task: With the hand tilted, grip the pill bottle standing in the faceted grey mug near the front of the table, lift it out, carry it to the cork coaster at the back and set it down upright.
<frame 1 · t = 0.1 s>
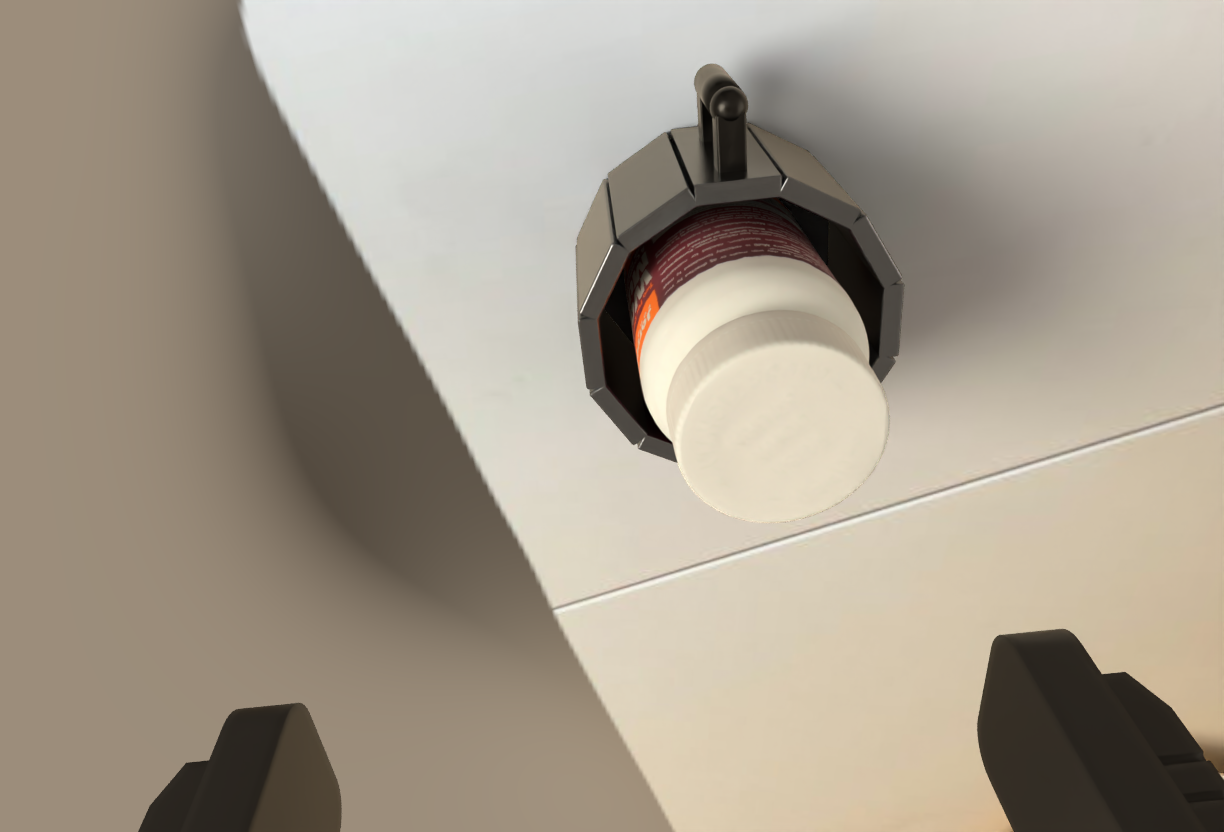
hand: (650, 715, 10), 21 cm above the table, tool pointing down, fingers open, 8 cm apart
pill bottle: (711, 258, 30), resting in faceted grey mug
faceted grey mug: (711, 261, 30), on the table
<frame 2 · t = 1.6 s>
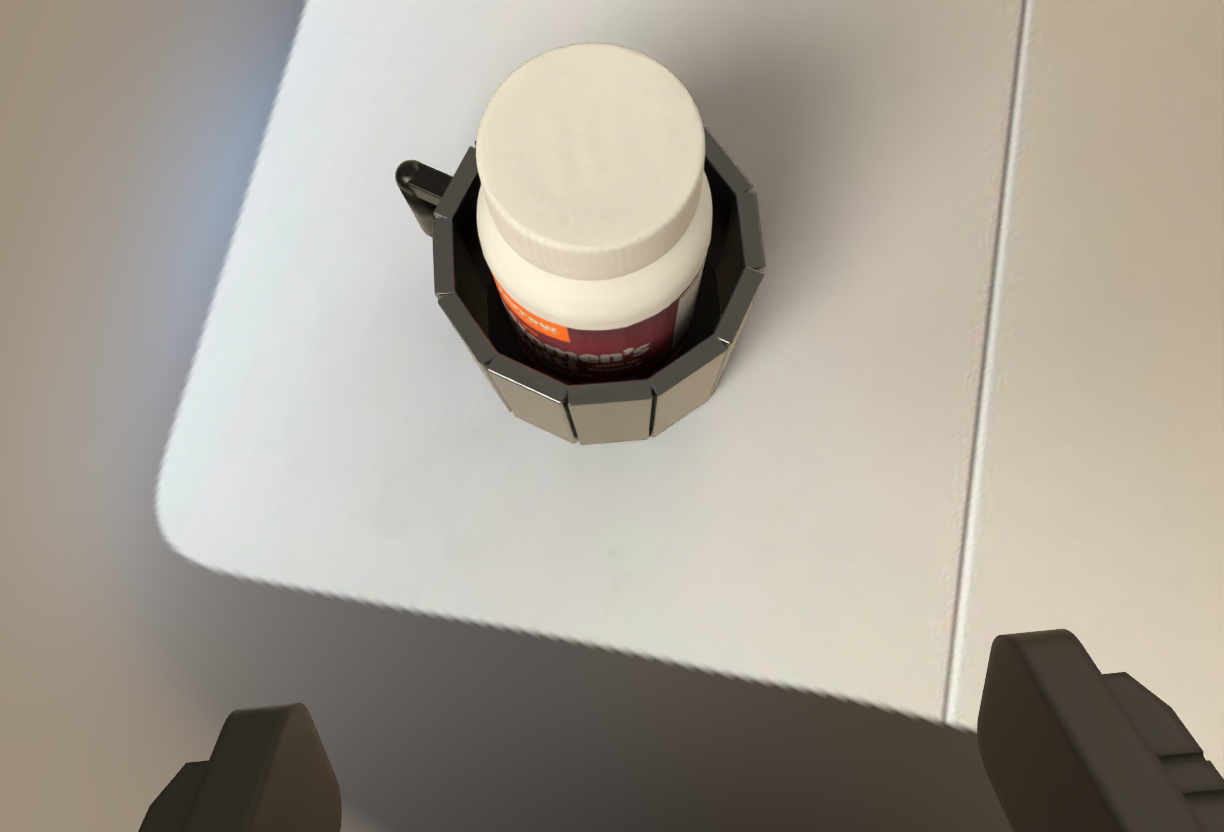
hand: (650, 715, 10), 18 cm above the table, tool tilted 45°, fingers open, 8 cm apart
pill bottle: (603, 314, 31), resting in faceted grey mug
faceted grey mug: (603, 312, 30), on the table
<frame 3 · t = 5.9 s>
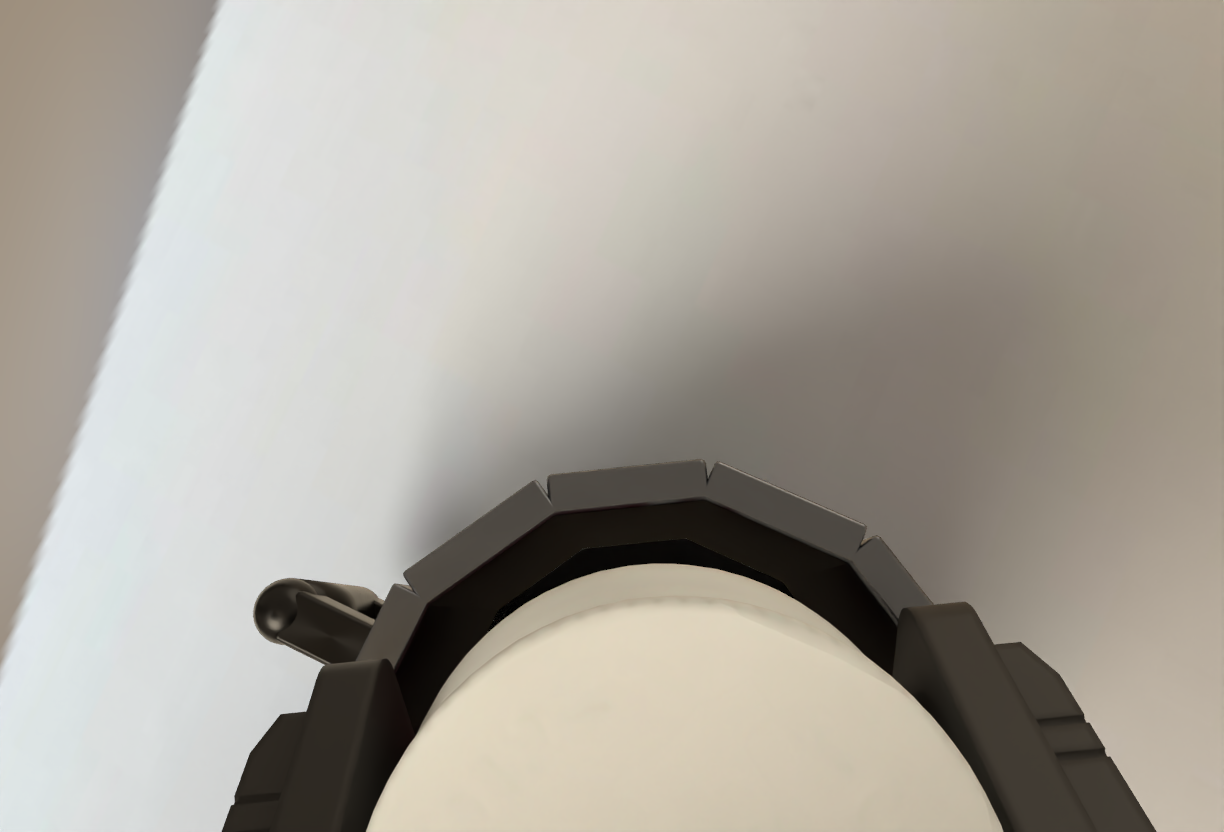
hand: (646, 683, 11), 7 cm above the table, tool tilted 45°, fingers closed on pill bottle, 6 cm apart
pill bottle: (655, 745, 18), resting in faceted grey mug, touching gripper
faceted grey mug: (655, 746, 17), on the table
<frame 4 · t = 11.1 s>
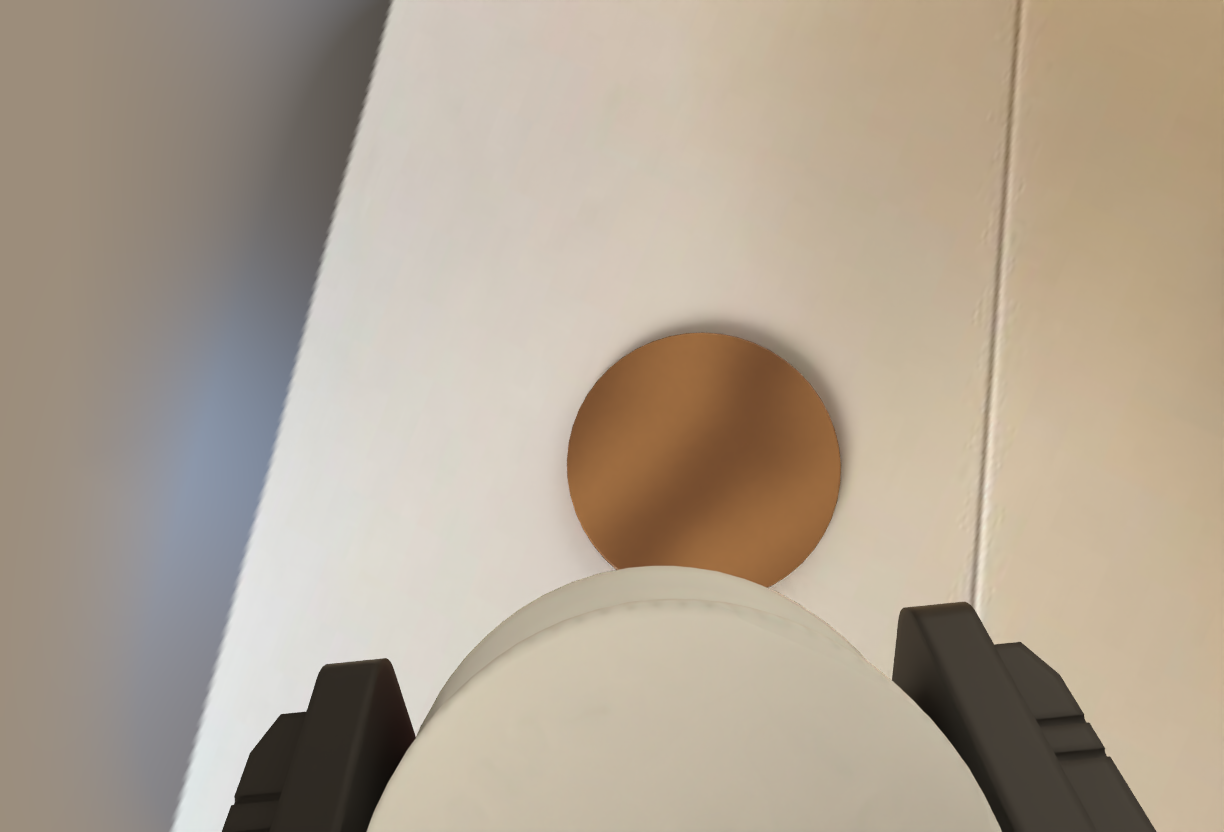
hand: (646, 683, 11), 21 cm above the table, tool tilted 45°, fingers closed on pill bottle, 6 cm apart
pill bottle: (655, 747, 18), point 14 cm above the table, touching gripper
coaster: (702, 465, 33), on the table
when the fingers open (8 cm above the table, at t = 16.3 s): pill bottle stays where it is, resting on coaster.
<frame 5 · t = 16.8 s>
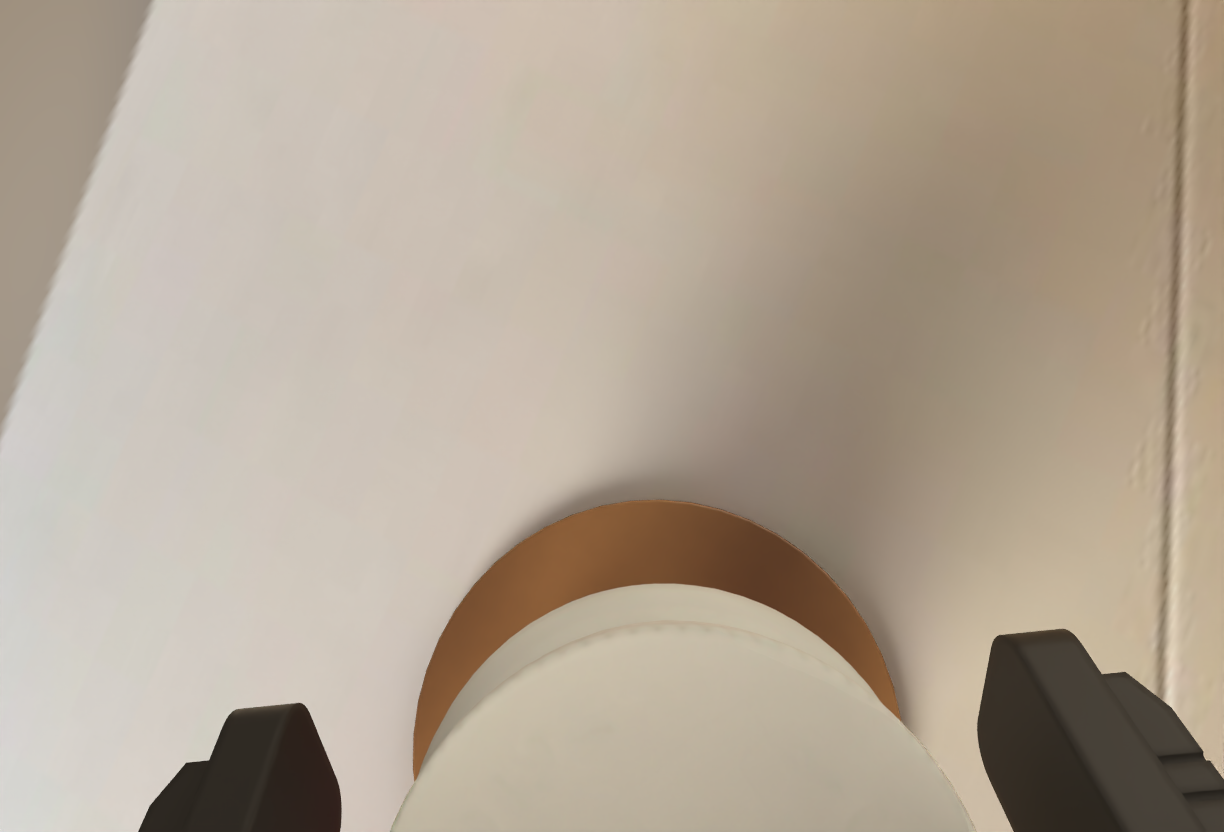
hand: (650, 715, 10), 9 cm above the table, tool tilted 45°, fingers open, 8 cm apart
pill bottle: (657, 752, 18), resting on coaster
coaster: (655, 740, 18), on the table
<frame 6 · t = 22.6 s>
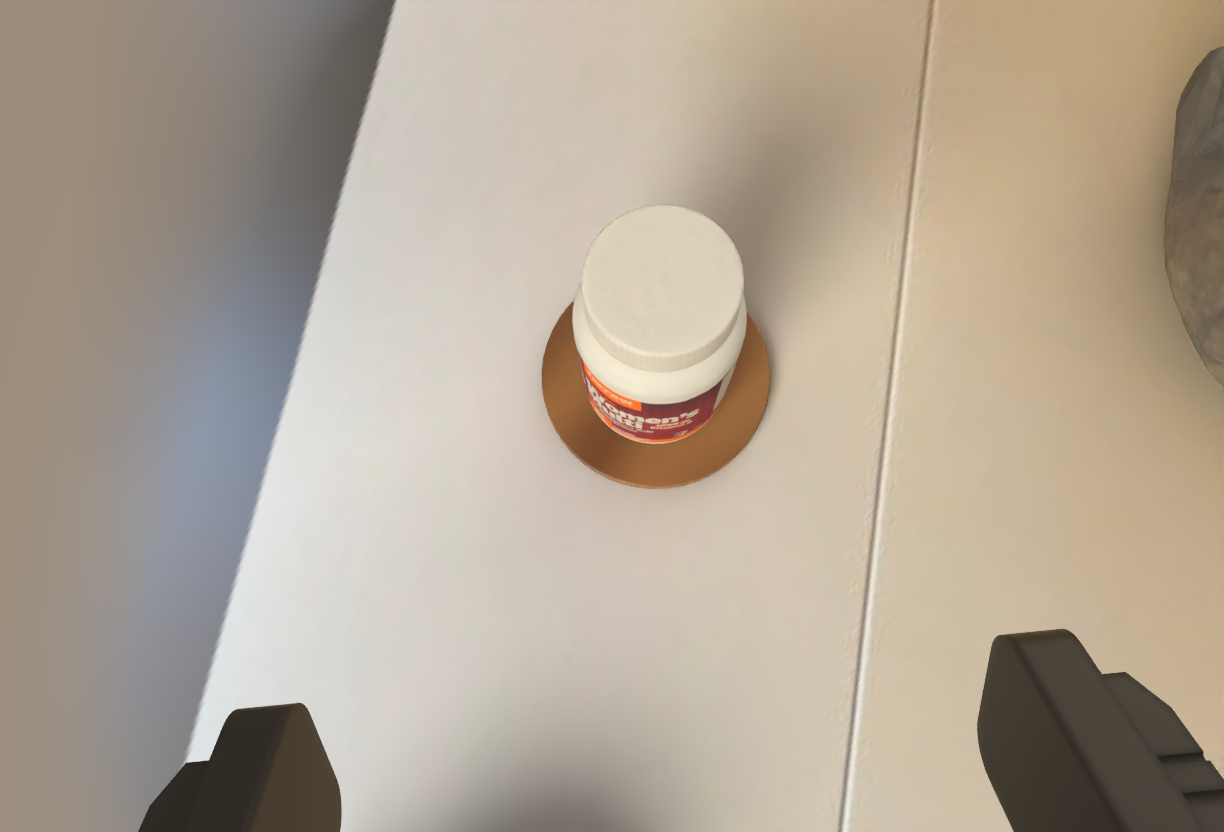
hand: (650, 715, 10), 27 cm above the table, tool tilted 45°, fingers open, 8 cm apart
pill bottle: (655, 378, 39), resting on coaster
coaster: (655, 377, 39), on the table
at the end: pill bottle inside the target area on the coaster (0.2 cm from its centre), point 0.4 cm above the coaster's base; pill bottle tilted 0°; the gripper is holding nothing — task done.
